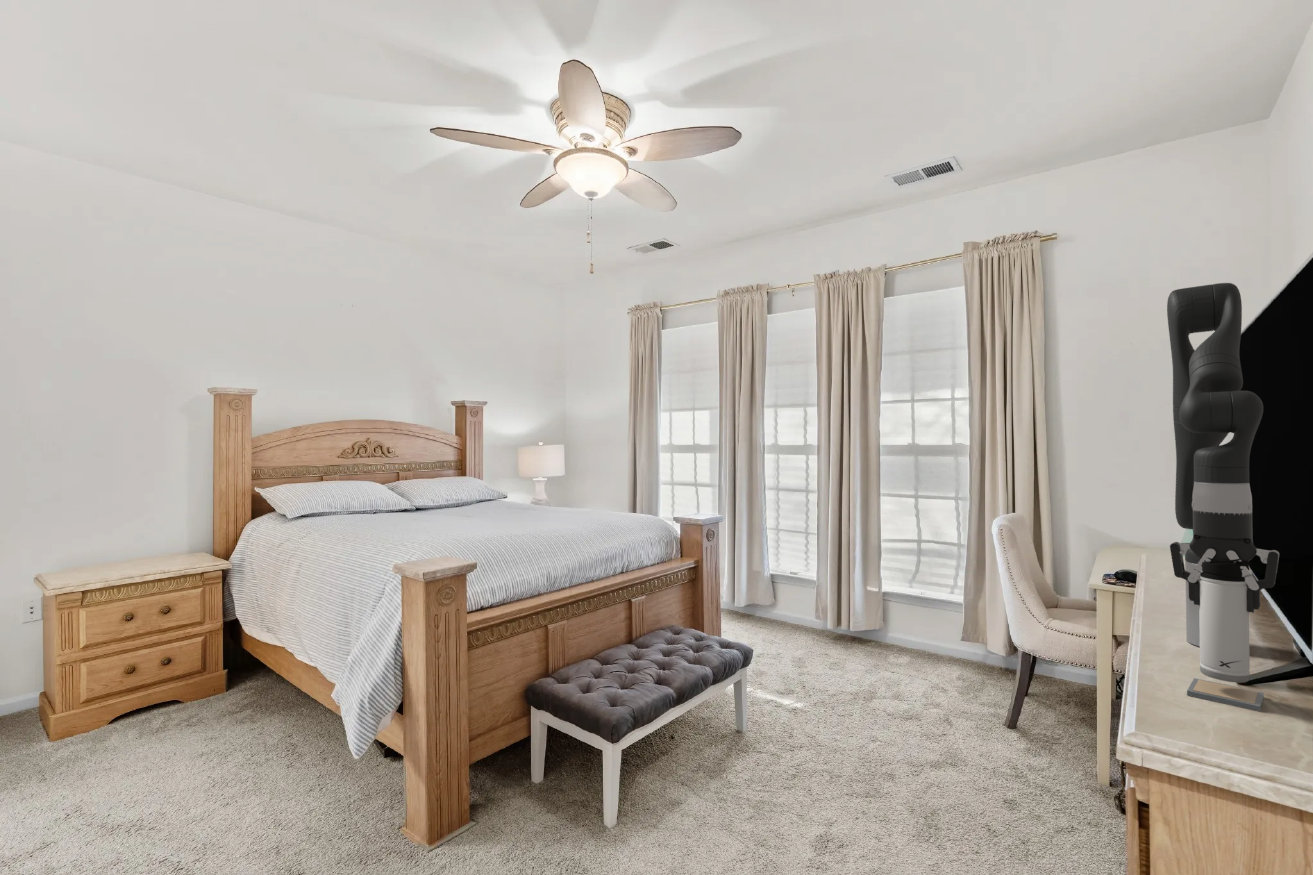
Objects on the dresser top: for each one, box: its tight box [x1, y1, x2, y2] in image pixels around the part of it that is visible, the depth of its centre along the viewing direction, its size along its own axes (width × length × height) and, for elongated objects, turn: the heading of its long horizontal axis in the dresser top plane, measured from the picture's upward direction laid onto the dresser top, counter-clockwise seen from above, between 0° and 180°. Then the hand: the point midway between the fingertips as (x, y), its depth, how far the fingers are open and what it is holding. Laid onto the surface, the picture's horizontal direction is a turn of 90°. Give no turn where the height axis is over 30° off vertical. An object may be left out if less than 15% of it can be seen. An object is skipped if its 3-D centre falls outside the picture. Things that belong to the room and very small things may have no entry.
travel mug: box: [1199, 561, 1251, 684], centre depth 106 cm, size 6×7×20 cm
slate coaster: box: [1186, 678, 1265, 712], centre depth 106 cm, size 8×9×1 cm
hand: (1223, 607), depth 106 cm, fingers closed on travel mug, 6 cm apart
